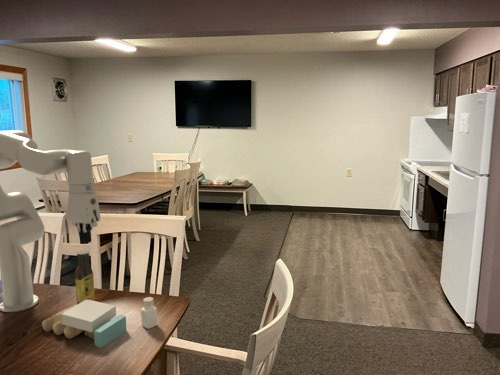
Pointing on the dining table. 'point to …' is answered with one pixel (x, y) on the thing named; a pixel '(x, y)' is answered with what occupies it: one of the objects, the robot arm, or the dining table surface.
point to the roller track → (61, 326)
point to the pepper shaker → (148, 313)
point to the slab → (88, 315)
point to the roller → (92, 333)
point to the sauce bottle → (84, 278)
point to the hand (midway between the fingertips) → (86, 242)
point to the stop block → (110, 330)
